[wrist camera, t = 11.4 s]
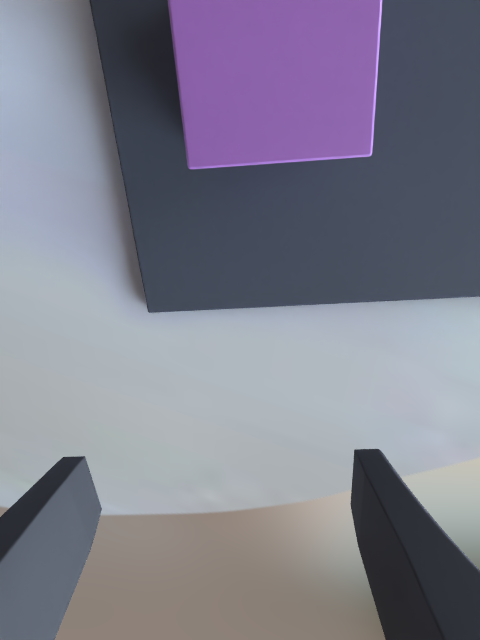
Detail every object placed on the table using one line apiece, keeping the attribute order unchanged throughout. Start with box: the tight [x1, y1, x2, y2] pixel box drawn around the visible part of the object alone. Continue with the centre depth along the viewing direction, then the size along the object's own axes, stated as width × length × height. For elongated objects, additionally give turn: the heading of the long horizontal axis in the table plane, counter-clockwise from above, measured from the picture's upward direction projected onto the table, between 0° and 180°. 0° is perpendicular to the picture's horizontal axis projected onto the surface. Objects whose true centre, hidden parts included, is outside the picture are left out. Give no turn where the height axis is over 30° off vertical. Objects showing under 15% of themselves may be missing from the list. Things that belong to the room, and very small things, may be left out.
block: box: [168, 0, 382, 169], centre depth 12 cm, size 5×5×5 cm
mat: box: [90, 0, 480, 313], centre depth 15 cm, size 20×14×1 cm
